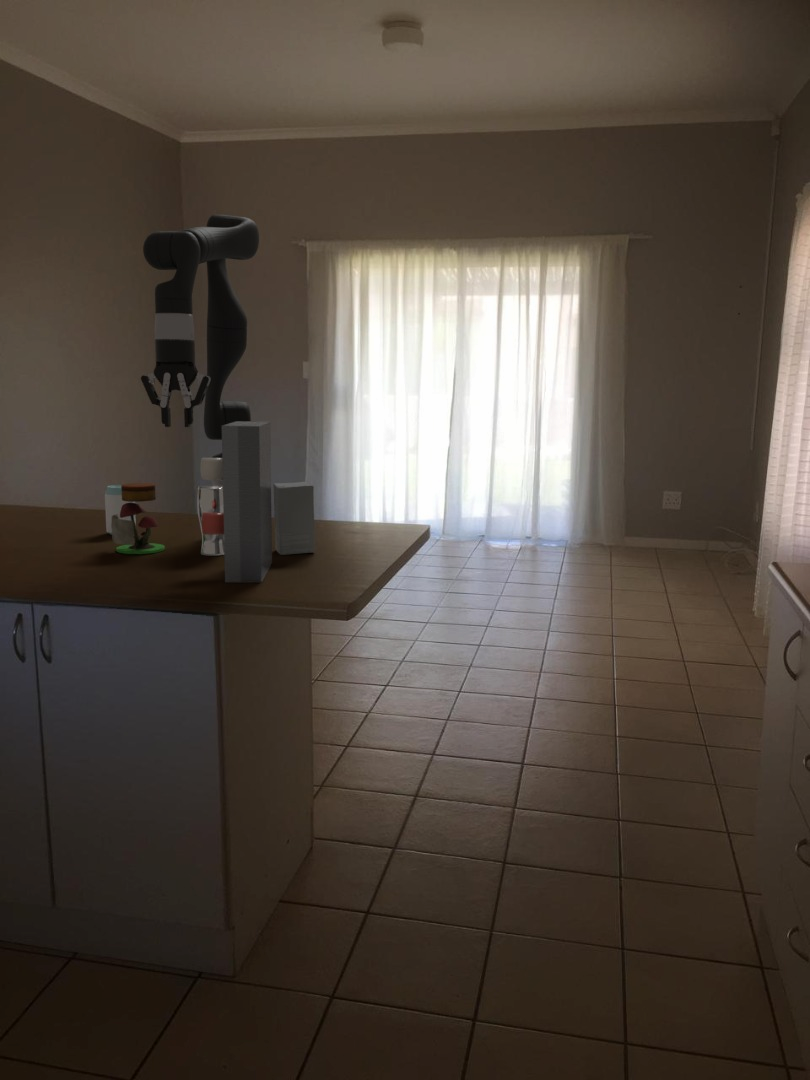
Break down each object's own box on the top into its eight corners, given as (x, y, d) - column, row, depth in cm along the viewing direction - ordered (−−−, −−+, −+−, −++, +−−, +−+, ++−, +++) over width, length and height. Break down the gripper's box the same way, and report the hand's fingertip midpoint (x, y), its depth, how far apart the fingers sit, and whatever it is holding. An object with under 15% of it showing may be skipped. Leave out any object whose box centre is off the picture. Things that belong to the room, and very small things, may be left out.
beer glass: (203, 557, 194) (201, 489, 192) (195, 551, 200) (193, 485, 198) (234, 554, 198) (232, 488, 195) (225, 549, 204) (223, 484, 201)
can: (100, 534, 220) (98, 486, 218) (119, 530, 227) (117, 483, 225) (123, 536, 218) (121, 488, 216) (141, 532, 224) (140, 485, 222)
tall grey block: (225, 582, 171) (221, 425, 166) (239, 563, 189) (236, 421, 183) (261, 582, 171) (259, 426, 166) (272, 563, 189) (270, 421, 184)
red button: (201, 536, 176) (201, 514, 175) (206, 532, 180) (205, 511, 180) (227, 536, 176) (226, 514, 175) (230, 532, 180) (230, 511, 180)
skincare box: (309, 548, 206) (308, 480, 204) (316, 554, 200) (315, 484, 197) (273, 550, 204) (272, 481, 201) (278, 556, 197) (278, 485, 194)
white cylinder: (200, 481, 174) (199, 458, 173) (204, 478, 178) (204, 456, 178) (226, 481, 174) (225, 459, 173) (229, 478, 179) (229, 457, 178)
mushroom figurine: (149, 543, 210) (146, 480, 208) (176, 550, 201) (174, 485, 199) (101, 549, 202) (98, 483, 199) (128, 557, 193) (125, 489, 191)
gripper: (214, 339, 177) (216, 426, 180) (143, 338, 177) (146, 425, 180) (207, 338, 170) (209, 428, 173) (133, 336, 169) (136, 427, 172)
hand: (177, 426), depth 176 cm, fingers open, 3 cm apart
